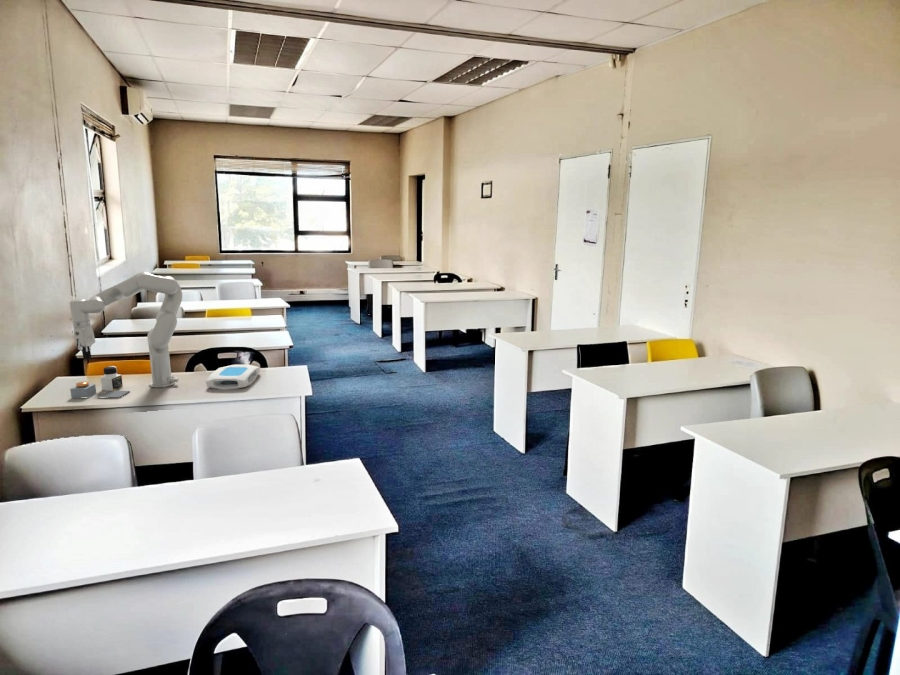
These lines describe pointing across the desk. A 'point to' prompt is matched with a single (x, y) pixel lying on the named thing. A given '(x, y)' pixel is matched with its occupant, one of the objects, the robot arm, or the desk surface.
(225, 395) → the desk surface
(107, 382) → the medicine bottle
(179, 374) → the desk surface
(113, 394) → the mat
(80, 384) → the release plunger
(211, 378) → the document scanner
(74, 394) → the release housing
